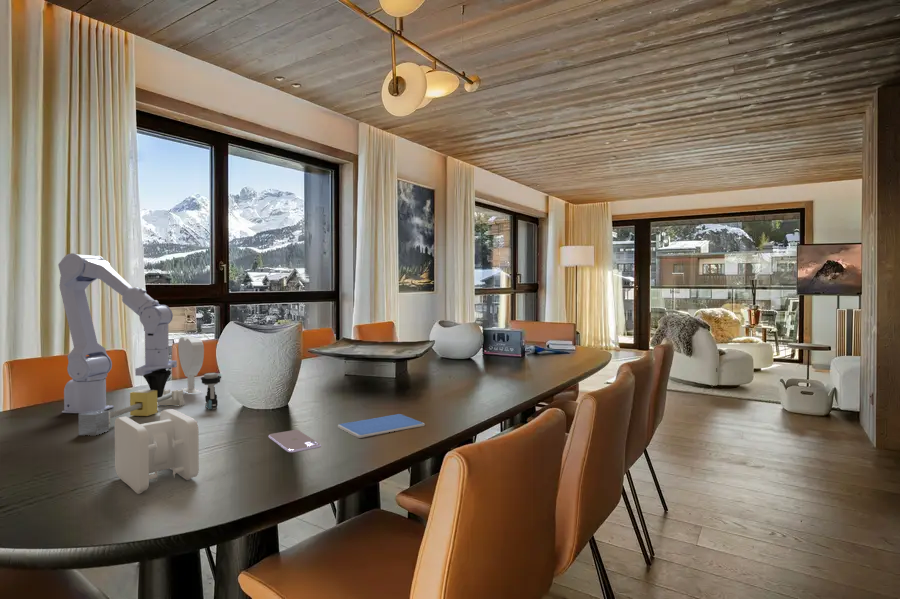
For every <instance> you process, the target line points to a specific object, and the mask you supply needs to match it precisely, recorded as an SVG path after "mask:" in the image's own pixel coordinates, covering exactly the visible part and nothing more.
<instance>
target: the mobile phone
mask: <svg viewBox="0 0 900 599" xmlns="http://www.w3.org/2000/svg"><path fill="white" fill-rule="evenodd" d="M268 438H269V439H270V440H272V441H273V442H274V443H276V444H277V445H278V446H279V447H280V448H282V449H283V450H284V451H286V452H288V453H298V452H301V451H307V450H311V449H313V450H314V449H317V448H320V447H321V445H322V444H321V443H320V442H318V441H317V440H315V439H314V438H312V437H309V435H307V434H305V433H304V432H302V431H300V430H299V429H292V430H287V431H281V432H274V433H270V434H268Z"/></svg>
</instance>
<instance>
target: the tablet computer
mask: <svg viewBox="0 0 900 599" xmlns="http://www.w3.org/2000/svg"><path fill="white" fill-rule="evenodd" d="M425 425H426V424H425V423H424V422H422V421H420V420H417V419H414V418H413V417H409V416H407V415H405V414H401V413H397V414H391V415H385V416H380V417H374V418H368V419H362V420H357V421H356V420H355V421H349V422H343V423H339V424H337V428H338V429H340V430H341V431H343V430H344V432H346V433H347V432H348V433H347V434H349V435H351V436H354V437H355V438H356V439H364V438H367V437H368V438H369V437H373V436H374V437H375V436H379V435H384V434H388V433H389V432H390V433H393V432H394V431H395V432H399V431H404V430H411V429H416V428H422V427H425ZM395 432H394V433H395Z"/></svg>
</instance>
